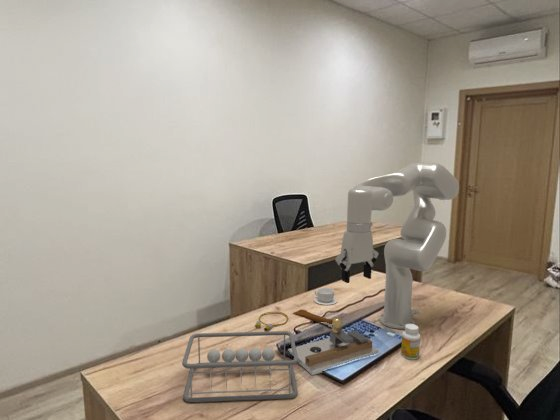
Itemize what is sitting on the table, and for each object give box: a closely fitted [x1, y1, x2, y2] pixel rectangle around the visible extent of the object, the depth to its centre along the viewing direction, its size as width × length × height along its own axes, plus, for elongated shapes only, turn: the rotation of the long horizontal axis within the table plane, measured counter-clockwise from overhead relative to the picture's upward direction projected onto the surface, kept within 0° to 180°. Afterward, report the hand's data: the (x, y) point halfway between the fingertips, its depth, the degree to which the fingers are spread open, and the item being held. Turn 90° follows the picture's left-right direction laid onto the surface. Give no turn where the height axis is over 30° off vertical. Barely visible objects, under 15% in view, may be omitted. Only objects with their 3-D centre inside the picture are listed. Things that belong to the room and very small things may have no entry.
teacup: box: [313, 287, 338, 306], centre depth 170 cm, size 10×10×5 cm
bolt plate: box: [287, 330, 380, 376], centre depth 127 cm, size 25×14×4 cm, turn 119°
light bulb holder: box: [329, 316, 353, 345], centre depth 127 cm, size 3×8×8 cm, turn 29°
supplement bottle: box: [400, 323, 421, 360], centre depth 126 cm, size 5×5×10 cm
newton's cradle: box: [181, 330, 299, 403], centre depth 111 cm, size 30×10×18 cm
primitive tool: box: [292, 308, 333, 324], centre depth 152 cm, size 19×6×4 cm, turn 44°
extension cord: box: [254, 311, 289, 332], centre depth 150 cm, size 12×16×2 cm
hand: (356, 279), depth 131 cm, fingers open, 8 cm apart
